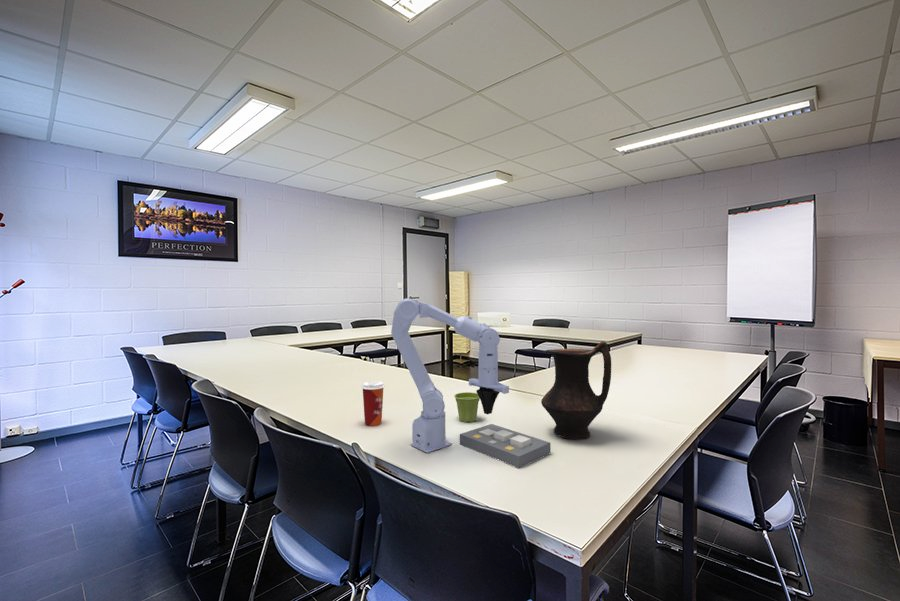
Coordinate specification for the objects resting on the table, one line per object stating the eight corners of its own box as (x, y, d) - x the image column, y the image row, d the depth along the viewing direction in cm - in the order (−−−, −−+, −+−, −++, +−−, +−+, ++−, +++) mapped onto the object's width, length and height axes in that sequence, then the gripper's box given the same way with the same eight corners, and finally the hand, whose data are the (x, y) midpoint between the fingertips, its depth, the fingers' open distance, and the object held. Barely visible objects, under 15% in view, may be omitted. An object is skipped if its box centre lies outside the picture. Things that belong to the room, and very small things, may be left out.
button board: (518, 468, 99) (518, 455, 99) (459, 444, 116) (459, 433, 116) (550, 453, 109) (550, 442, 109) (491, 433, 125) (491, 423, 125)
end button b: (521, 453, 105) (521, 442, 105) (510, 449, 108) (510, 438, 108) (530, 449, 108) (530, 438, 108) (519, 445, 110) (519, 435, 110)
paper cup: (382, 427, 131) (382, 385, 131) (359, 427, 131) (359, 385, 131) (386, 419, 139) (386, 380, 139) (364, 419, 139) (364, 380, 139)
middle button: (504, 447, 109) (504, 436, 109) (493, 443, 112) (493, 432, 112) (513, 443, 112) (513, 433, 112) (502, 439, 115) (502, 429, 115)
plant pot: (471, 425, 132) (471, 400, 132) (449, 420, 138) (449, 396, 138) (485, 418, 140) (485, 394, 140) (464, 414, 145) (464, 391, 145)
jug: (533, 439, 120) (533, 341, 119) (548, 422, 136) (548, 336, 136) (607, 451, 110) (608, 345, 110) (614, 431, 126) (614, 338, 126)
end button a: (488, 445, 114) (488, 435, 114) (478, 441, 117) (478, 431, 117) (497, 442, 116) (497, 432, 116) (487, 438, 119) (487, 428, 119)
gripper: (515, 369, 114) (515, 416, 114) (479, 363, 125) (479, 405, 125) (499, 372, 109) (499, 421, 109) (463, 365, 120) (463, 409, 120)
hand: (487, 413), depth 117 cm, fingers closed
